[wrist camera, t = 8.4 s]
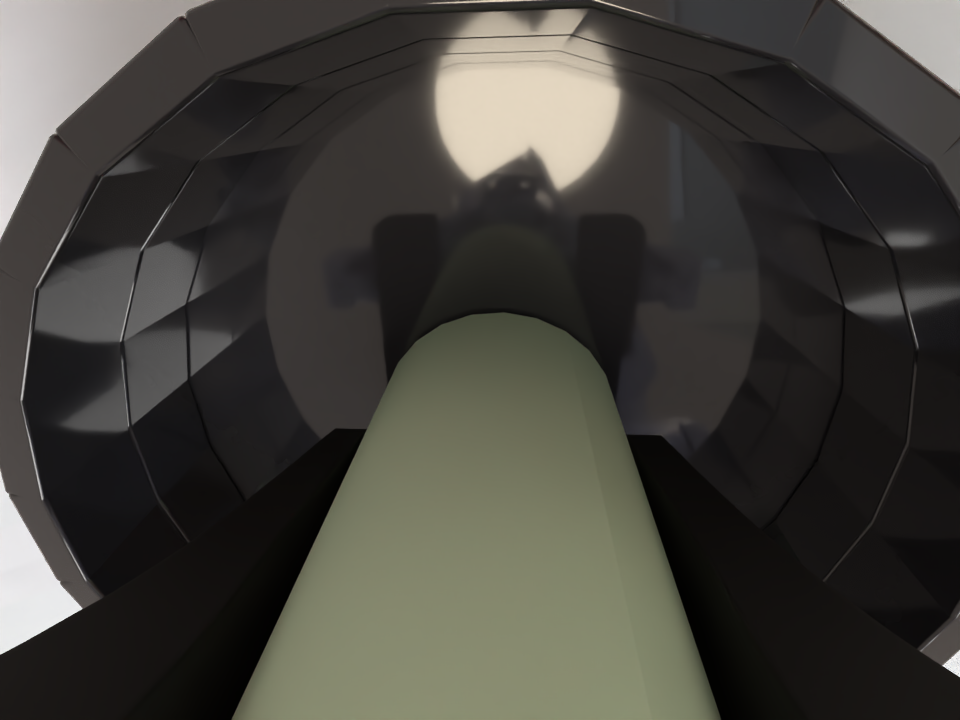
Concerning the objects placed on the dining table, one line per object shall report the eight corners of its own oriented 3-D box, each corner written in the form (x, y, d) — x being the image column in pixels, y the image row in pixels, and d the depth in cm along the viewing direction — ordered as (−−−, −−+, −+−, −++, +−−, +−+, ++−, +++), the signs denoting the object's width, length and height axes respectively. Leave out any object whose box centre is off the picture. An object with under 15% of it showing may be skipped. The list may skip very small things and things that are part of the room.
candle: (624, 486, 12) (800, 1104, 4) (422, 512, 13) (292, 1074, 5) (597, 287, 10) (847, 842, 2) (356, 334, 10) (-19, 861, 3)
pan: (761, 630, 15) (854, 828, 11) (258, 607, 16) (169, 779, 12) (990, -3, 8) (1494, -122, 4) (69, 27, 9) (-306, -39, 5)
